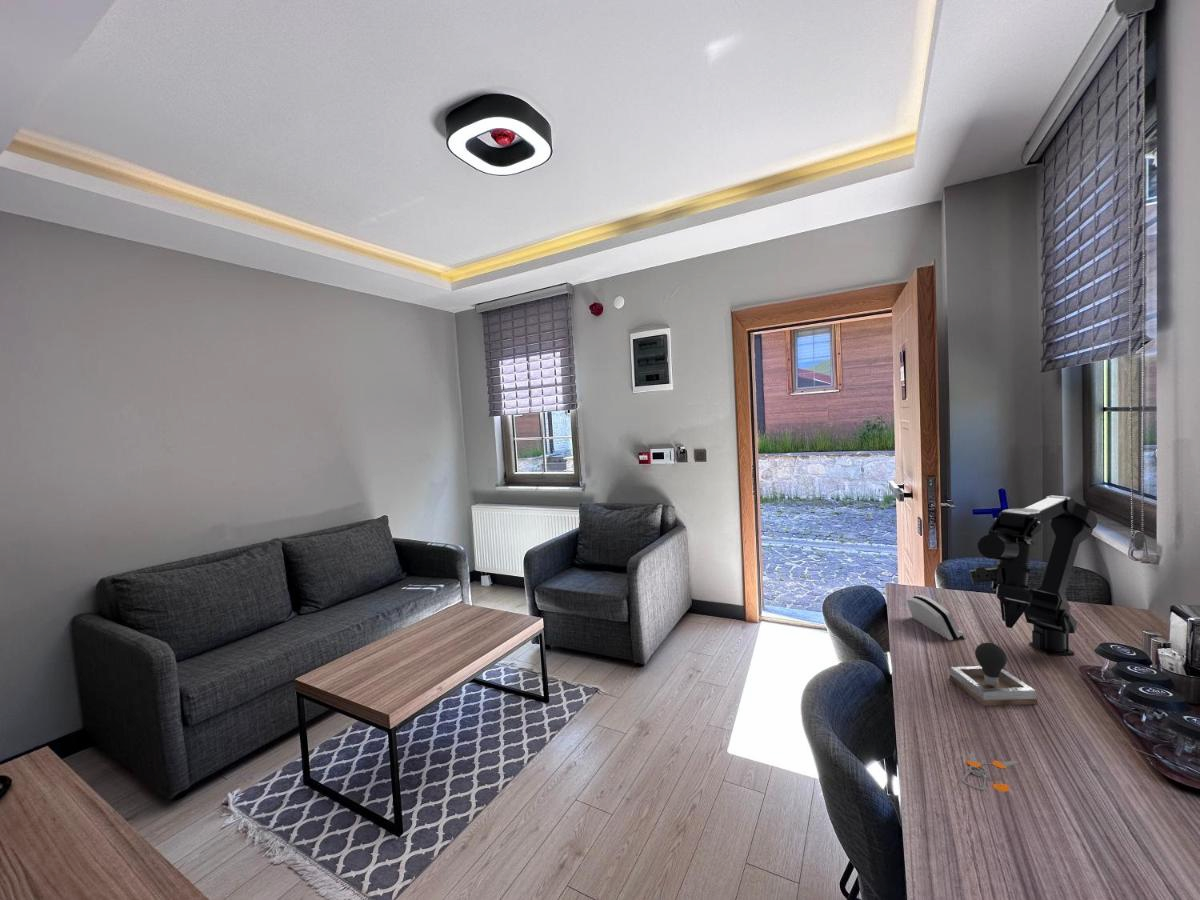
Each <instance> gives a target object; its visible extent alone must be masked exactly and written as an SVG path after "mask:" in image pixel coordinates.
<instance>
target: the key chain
mask: <svg viewBox="0 0 1200 900" xmlns="http://www.w3.org/2000/svg"><path fill="white" fill-rule="evenodd" d="M967 757H968V759H967V760H966V764H967V765H968V766H969V767H968V771H967V772H966V773H965V774H964V775H963V777H962V778H961V780H960V781H961V782H962V783H963V784H965V785H967V786H968V787H971V788H974V789H977V790H980V791H985V790H986V781H987V779H988V781H991V779H990V778H989V777H988V776H987V775H986V773H987V769H986V768H985V767H982V766H985V765H991V766H994V767H996V768H998V767H999V768H998V769H1003V768H1004V769H1003V770H1005V768H1006V769H1008V767H1010V766H1011V767H1012V766H1015V765H1019V762H1018V761H1017V760H1009V761H1003V762H1002V761H999V760H994V759H993V761H992V763H991V762H983V763H980V762H978V761H976V756H975V753H973V752H969V755H968V756H967ZM981 768H982V769H981ZM970 774H973V775H974V776H976V777H979V778H980V777H981V780H983V785H982V787H978V786H975V785H972V784H970V783H968V782H966V781H965V780H966V778H967V777H968V776H969V775H970ZM1000 782H1001V783H1000V784H998V785H997V783H996V784H994V785H993V787H992V788H993V789H995V790H997V791H999V792H1002V793H1003V792H1010V787H1009V786H1008V784H1006V783H1005V784H1002V782H1003V781H1000ZM993 783H994V782H993ZM993 783H992V784H993ZM992 784H991V785H992ZM991 785H990V786H991ZM999 785H1001V786H999Z"/></svg>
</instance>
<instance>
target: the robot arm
mask: <svg viewBox="0 0 1200 900" xmlns="http://www.w3.org/2000/svg"><path fill="white" fill-rule="evenodd" d="M1048 521H1050V525H1049V526H1050V528H1051V530H1052V532H1053V534H1054V535H1055V537H1054V540H1053V544H1052V545H1051V546H1052V547H1051V550H1050V553H1049V557H1048V560H1047V562H1046V563H1047V564H1046V566H1045V567H1046V568H1045V569H1044V570H1045V571H1044V573H1043V577H1042V580H1041V584H1040V586H1038V587H1037V588H1036V589H1034V588H1031V589H1029V585H1028V579H1029V574H1030V572H1031V568H1030V560H1031V554H1032V553H1031V551H1032V546H1035V545H1036V542H1035V541H1034V540H1033V537H1034V536H1035V535H1037V534H1038V533H1039V532H1040V531H1042V530H1043V529H1042V527H1043V526H1042V524H1044V523H1046V522H1048ZM1097 525H1098V518H1097V515H1096V514H1095V513H1094V512H1093V511H1092V509H1091V508H1089V507H1087V506H1084V505H1082V504H1080V503H1079V502H1076V500H1075V499H1074V498H1072V497H1070V496H1065V495H1063V496H1062V495H1053V494H1052V495H1047V496H1045V498H1044V499H1042V500H1038V501H1037V502H1035V503H1033V504H1031V505H1028V506H1026V507H1023V508H1008V509H1003V510H1002V511H1001V512H1000V513H999V514H998V515H997V517H996V519H995V520H994V522H993V523H992V525H991V527H990V528H989V530H988V534H986V535H983V537H981V538H979V541H978V542H977V549H978V551H979V553H980V554H981V555H982V556H983V557H985V558H987V559H991V560H998V562H996V563H995V567H987V568H985V567H984V566H976V567H975V568H974V569H969V570H968V573H969V575H970V580H971V582H972V584H974V585H976V584H981V583H989V582H990V583H991V582H992V583H991V588H992V592H993V593H994V594H995V595H996V598H997V599H998V601H999V605H1000V606H999V607H1000V613H1001V620H1002V621H1003V622H1005V624H1004V625H1005V627H1006V628H1009V629H1012V628H1013V627H1014V626H1015V625H1016V623H1017V622H1018V621H1019V619H1020V618H1021V616H1022V615H1023V614H1024V617H1025V620H1026V621H1025V622H1026V623H1027V624H1031V625H1032V626H1033V630H1032V631H1031V636H1032V637H1031V641H1029V642H1028V644H1029V645H1030V646H1031V647H1033V648H1035V649H1037V650H1038V651H1040V652H1042V653H1045V654H1046V655H1047V656H1063V655H1075V652H1074V650H1071V649H1070V645H1069V643H1070V642H1069V641H1070V640H1069V637H1070V635H1069V634H1076V630H1077V626H1078V622H1077V620H1076V619H1075V617H1074V616H1073V615H1072V614H1071V612H1070V610H1071V605H1070V603H1069V601H1068V599H1067V597H1066V592H1067V591H1066V590H1067V587H1068V585H1069V581H1070V578H1071V573H1072V571H1073V567H1074V564H1075V561H1076V557H1077V553H1078V550H1079V546H1080V544H1081V543H1082V542H1084V541H1086V540H1087V539H1089V538H1090V537H1091V536H1092V533H1093V532H1094V529H1095V528H1097Z"/></svg>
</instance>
